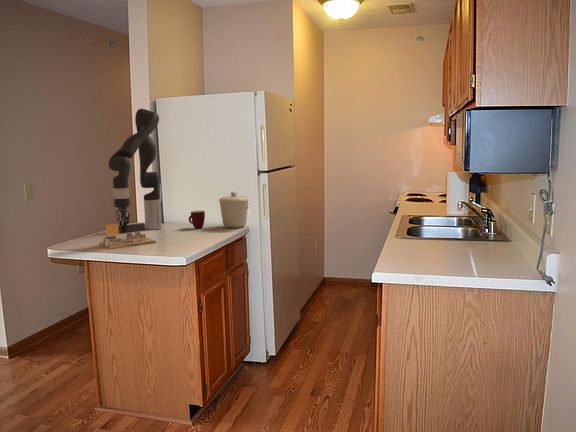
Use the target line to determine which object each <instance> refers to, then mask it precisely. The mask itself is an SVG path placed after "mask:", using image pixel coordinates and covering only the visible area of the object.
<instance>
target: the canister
mask: <svg viewBox="0 0 576 432" xmlns="http://www.w3.org/2000/svg"><path fill="white" fill-rule="evenodd" d="M249 201H250V198H248V197H247V196H243V195H237V192H236V191H231V192H230V195H227V196H222V197H220V198H219V199H218V202H219V207H220V213H221V221H222V225H223V226H224V227H225V228H230V229H237V228H243V227H245V226H246V224H247V218H248V208H249V207H248V205H249Z"/></svg>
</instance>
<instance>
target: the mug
mask: <svg viewBox="0 0 576 432" xmlns="http://www.w3.org/2000/svg"><path fill="white" fill-rule="evenodd" d="M205 213H206V212H205V210H191V211H190V215H189V217H188V221H189V223H190V224H192V226H193V228H194V229H195V230H201V229H203V227H204V225H205V220H206V219H205V218H206V214H205Z"/></svg>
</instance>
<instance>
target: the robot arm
mask: <svg viewBox="0 0 576 432" xmlns="http://www.w3.org/2000/svg"><path fill="white" fill-rule="evenodd" d="M134 119H135V121H134V122H135V127H136V133H134V134H132V135H130V136H129V137H127V138H126V140H125V141H124V142H123V144H122V145H121V147H120V148H119V149H117V151H115V153H113V154H112V155H111V157H110V158H109V160H108V168H109V169H110V170H111V171H114V172H118V175H116V176H113V178H112V183H113V185H112V186H113V191H112V193H113V194H112V195H113V207H114V208H117V209H116V210H115V215H116V220H117V223H118V225H122V231H123V232H127V225H128V224H129V222H130V212H128V208H129V207H130V206H131V199H130V190H129V176H130V171H131V161H130V159H132V158H133V157H134V155H135V154H136V152H137V151H138V158H139V183H140V187H141V188H143V189H153V190H151V192H149V193H145V194H143V207H144V210H143V211H144V212H143V213H144V224H145V230H154V231H155V230H160V229H162V212H161V211H162V209H161V208H162V207H161V195H160V193H161V192H160V191H161V190H160V185H161V184H160V183H161V182H160V180H161V179H160V174H159V172H157V171H148V168H149V167H150V166H151V165H152V164H153V162H154V161H155V160H156V157H157V147H156V146H157V145H156V143H155V141H154V140H153V138H152V137H151V136H150V135H151V134H152V133H153V132H154V130H155V129H156V128H157V126H158V125H159V122H160V116H159V114H158V113H157V112H156V111H152V110H148V109H146V108H139V109H137V111H136V113H135V117H134Z"/></svg>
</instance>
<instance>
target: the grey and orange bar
mask: <svg viewBox="0 0 576 432" xmlns="http://www.w3.org/2000/svg"><path fill="white" fill-rule="evenodd" d="M105 229H106V230H105V232H106V235H108V236H116V235H119V234H126V233H135V232H145V231H146V229H145V222H141V223H140V222H139V223H138V222H137V223H130V224H129V223H128V224H127V232H123V231H122V225H120V224H117V223H110V224H106V225H105Z"/></svg>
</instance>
